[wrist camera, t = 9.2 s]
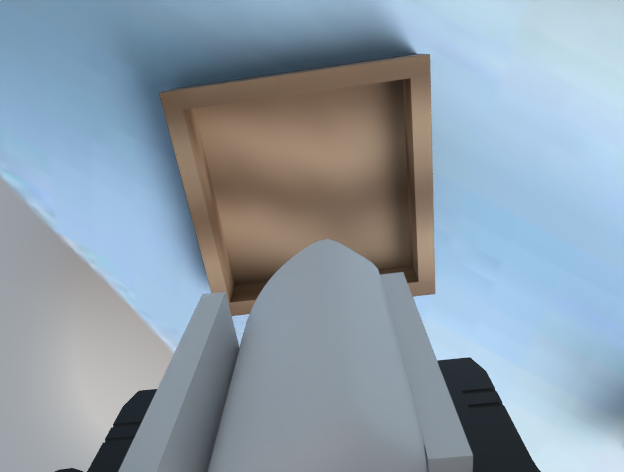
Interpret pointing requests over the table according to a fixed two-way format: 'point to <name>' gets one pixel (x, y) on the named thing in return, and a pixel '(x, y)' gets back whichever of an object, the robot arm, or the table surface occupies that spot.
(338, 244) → the eye dropper bottle
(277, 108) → the walnut tray
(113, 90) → the table surface
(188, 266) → the table surface
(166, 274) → the table surface
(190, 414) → the robot arm
